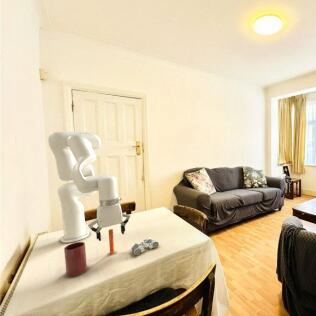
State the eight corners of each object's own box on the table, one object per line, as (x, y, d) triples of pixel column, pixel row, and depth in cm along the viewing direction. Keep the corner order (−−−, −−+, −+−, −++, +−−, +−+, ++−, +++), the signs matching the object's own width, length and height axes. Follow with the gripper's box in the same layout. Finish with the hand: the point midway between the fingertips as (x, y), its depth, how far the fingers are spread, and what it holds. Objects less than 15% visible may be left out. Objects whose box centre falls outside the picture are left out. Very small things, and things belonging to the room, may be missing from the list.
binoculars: (135, 256, 96) (134, 249, 96) (128, 250, 101) (128, 243, 101) (159, 246, 105) (158, 240, 105) (151, 241, 110) (151, 235, 110)
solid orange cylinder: (109, 253, 99) (108, 229, 98) (113, 251, 100) (112, 228, 99) (110, 254, 98) (108, 231, 96) (114, 253, 99) (113, 229, 98)
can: (66, 271, 85) (63, 245, 84) (85, 264, 90) (83, 240, 89) (66, 279, 80) (64, 252, 79) (87, 272, 85) (85, 246, 84)
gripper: (126, 197, 105) (129, 228, 106) (85, 204, 93) (88, 239, 95) (130, 200, 99) (133, 233, 101) (87, 208, 88) (90, 245, 89)
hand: (111, 236), depth 98 cm, fingers open, 9 cm apart
